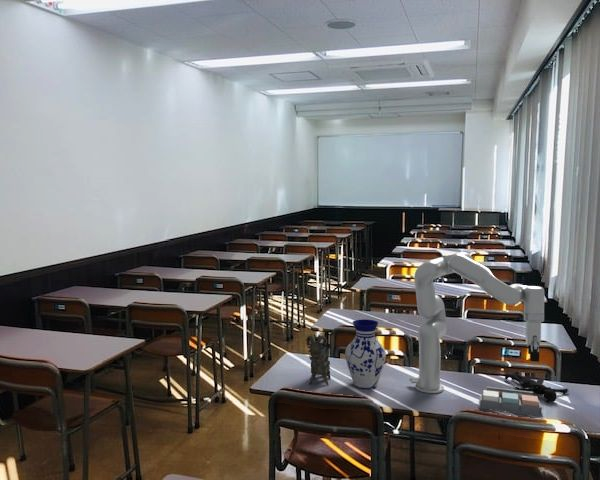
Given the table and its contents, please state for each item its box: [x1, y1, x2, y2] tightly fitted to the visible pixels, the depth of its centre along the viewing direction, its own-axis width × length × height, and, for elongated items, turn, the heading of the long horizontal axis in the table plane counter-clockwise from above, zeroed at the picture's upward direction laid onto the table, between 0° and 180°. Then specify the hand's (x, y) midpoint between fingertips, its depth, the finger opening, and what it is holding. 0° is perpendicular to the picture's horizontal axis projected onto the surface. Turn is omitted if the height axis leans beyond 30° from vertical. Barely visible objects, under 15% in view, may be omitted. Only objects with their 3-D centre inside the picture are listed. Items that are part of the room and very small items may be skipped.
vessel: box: [305, 333, 332, 386], centre depth 244 cm, size 11×25×24 cm, turn 170°
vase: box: [344, 319, 387, 390], centre depth 239 cm, size 19×19×30 cm
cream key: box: [482, 389, 499, 402], centre depth 215 cm, size 6×6×3 cm
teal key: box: [502, 392, 518, 404], centre depth 212 cm, size 6×6×3 cm
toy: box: [504, 373, 570, 403], centre depth 231 cm, size 29×7×30 cm
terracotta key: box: [521, 395, 539, 407], centre depth 209 cm, size 6×6×3 cm
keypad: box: [478, 386, 544, 417], centre depth 213 cm, size 24×11×6 cm, turn 69°
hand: (533, 357), depth 209 cm, fingers open, 9 cm apart
